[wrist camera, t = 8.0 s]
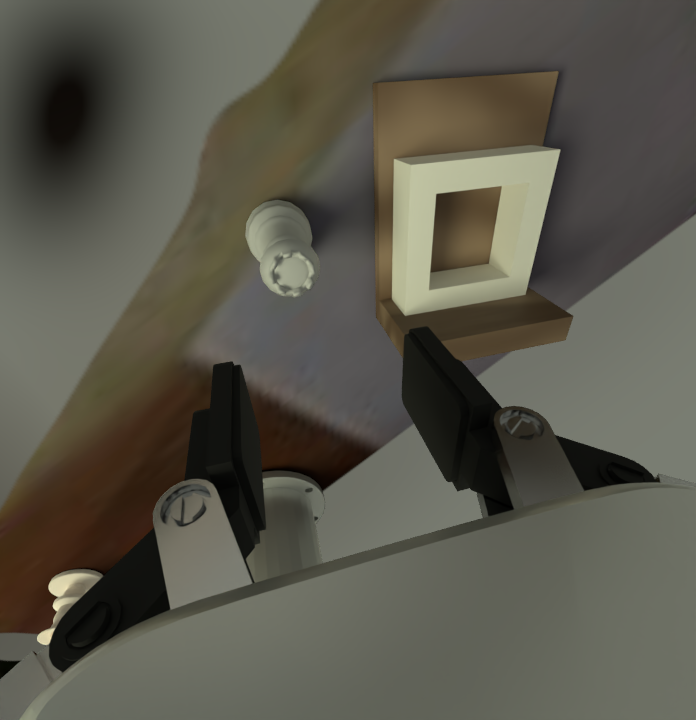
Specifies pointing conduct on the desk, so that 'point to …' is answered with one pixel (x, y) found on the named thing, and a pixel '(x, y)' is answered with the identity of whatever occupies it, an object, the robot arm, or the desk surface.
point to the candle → (68, 594)
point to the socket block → (511, 235)
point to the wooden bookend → (460, 202)
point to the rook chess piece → (283, 247)
